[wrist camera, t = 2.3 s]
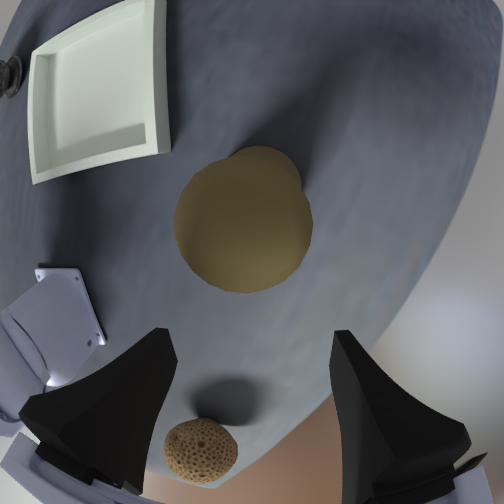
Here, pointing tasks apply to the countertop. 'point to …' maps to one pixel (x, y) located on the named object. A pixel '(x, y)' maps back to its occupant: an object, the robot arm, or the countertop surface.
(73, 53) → the tray
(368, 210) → the countertop surface
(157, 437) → the countertop surface
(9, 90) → the gray chess piece
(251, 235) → the cork
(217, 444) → the natural sponge
